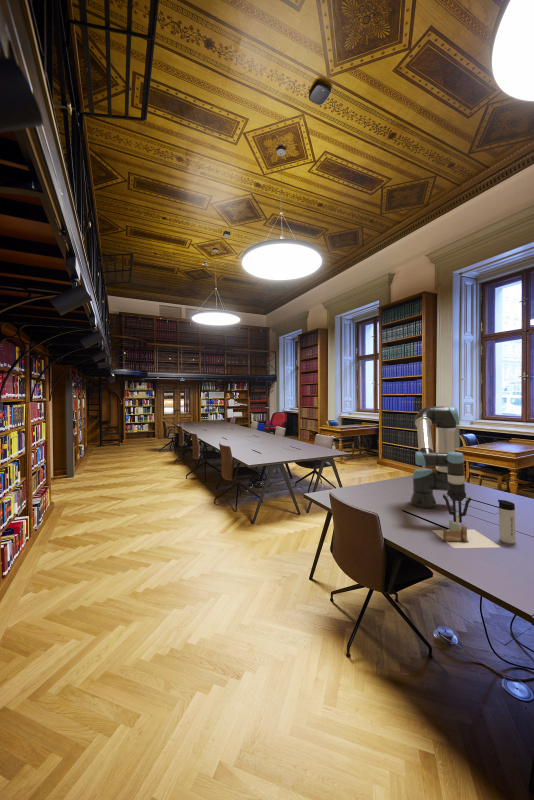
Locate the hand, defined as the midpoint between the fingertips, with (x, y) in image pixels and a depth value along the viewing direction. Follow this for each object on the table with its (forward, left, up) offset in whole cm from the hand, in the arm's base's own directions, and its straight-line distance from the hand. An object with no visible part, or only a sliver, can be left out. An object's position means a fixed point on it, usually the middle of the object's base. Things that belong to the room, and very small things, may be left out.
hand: (457, 528), depth 164 cm
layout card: (+5, 0, -3) cm, 6 cm away
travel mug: (+9, +18, -4) cm, 21 cm away
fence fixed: (+8, -6, -3) cm, 11 cm away
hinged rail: (+1, -2, -2) cm, 3 cm away
